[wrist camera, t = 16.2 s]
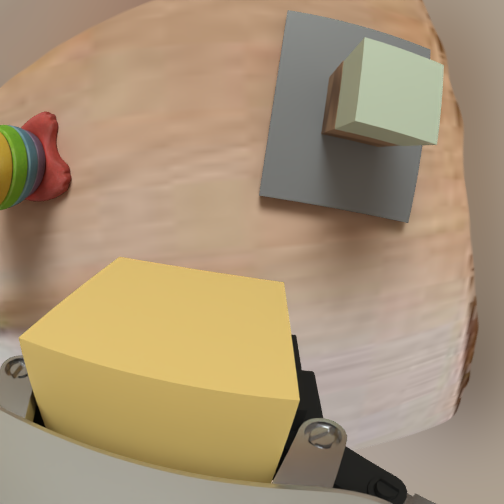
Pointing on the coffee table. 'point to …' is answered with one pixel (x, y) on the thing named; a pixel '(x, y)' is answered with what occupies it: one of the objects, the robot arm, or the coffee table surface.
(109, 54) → the coffee table surface
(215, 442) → the ochre block
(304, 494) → the robot arm
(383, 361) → the coffee table surface
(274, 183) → the slate base board
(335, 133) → the walnut base block
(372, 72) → the sage-green block
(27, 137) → the stacking bear
